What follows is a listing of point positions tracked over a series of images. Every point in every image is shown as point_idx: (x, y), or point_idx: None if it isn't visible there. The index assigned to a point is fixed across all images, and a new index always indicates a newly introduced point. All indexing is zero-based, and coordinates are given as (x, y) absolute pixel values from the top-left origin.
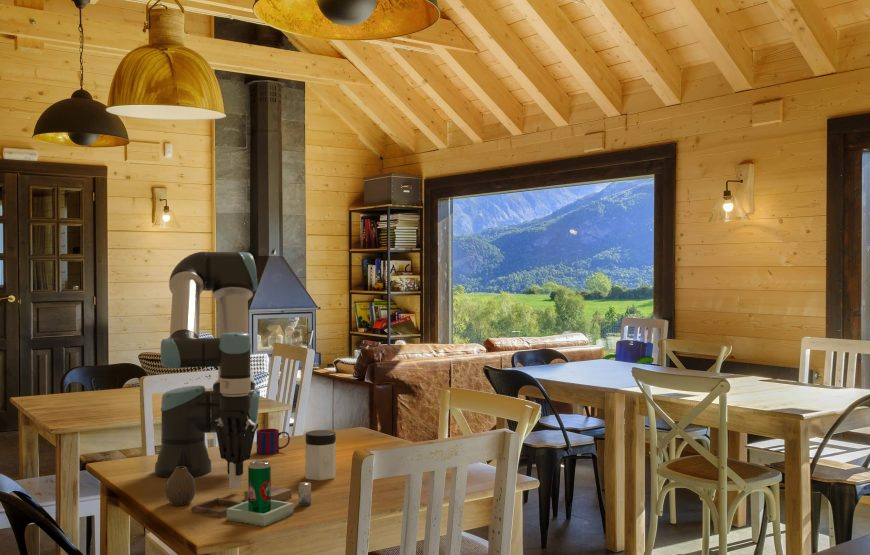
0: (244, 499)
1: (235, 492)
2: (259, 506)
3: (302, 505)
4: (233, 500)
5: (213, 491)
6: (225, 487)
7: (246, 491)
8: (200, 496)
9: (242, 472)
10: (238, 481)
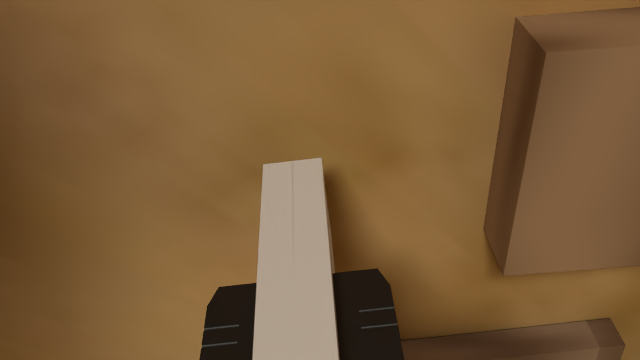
0: (485, 229)
1: (267, 144)
2: None
3: None
4: (513, 356)
5: (93, 216)
6: (35, 85)
7: (523, 272)
8: (153, 322)
9: (391, 296)
10: (329, 230)
